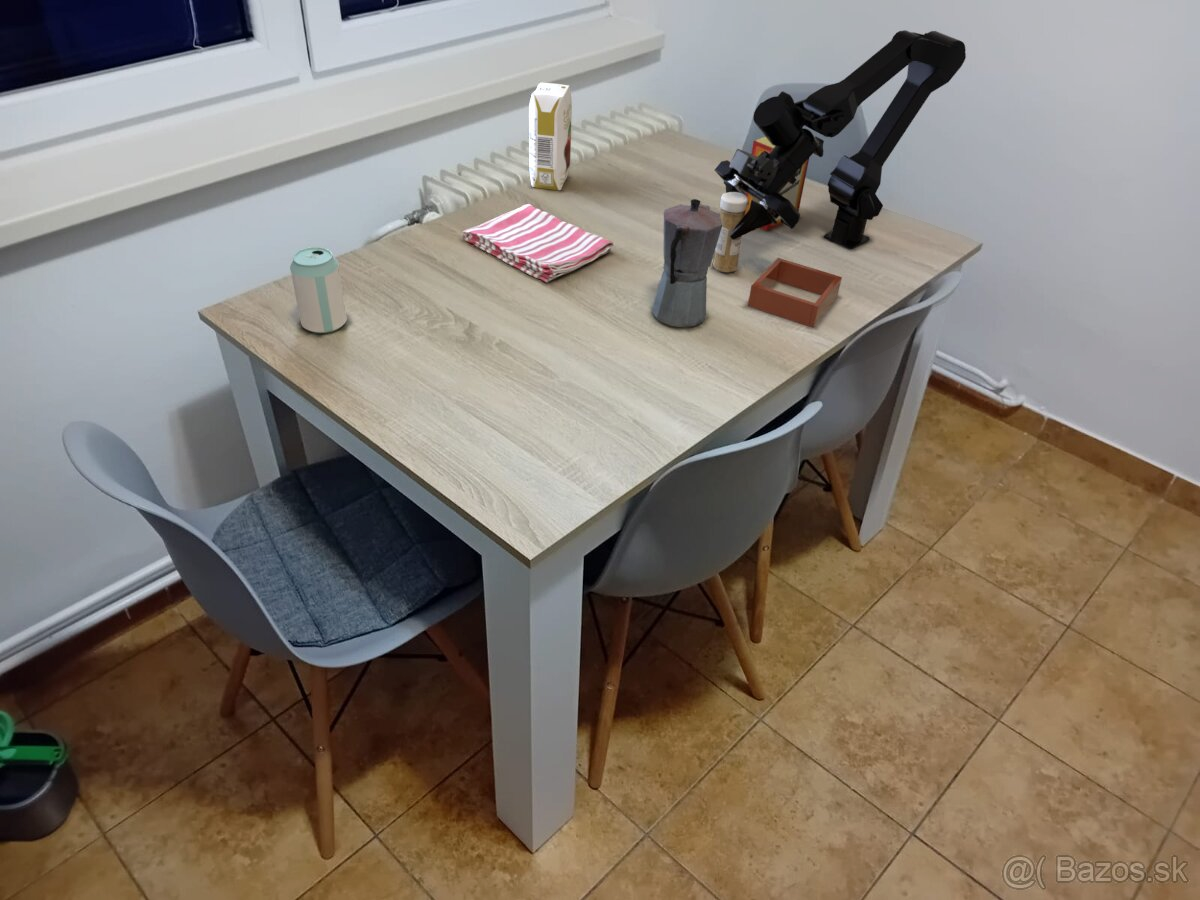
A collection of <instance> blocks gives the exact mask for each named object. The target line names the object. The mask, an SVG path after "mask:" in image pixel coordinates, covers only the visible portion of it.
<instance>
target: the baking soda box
mask: <svg viewBox="0 0 1200 900" xmlns="http://www.w3.org/2000/svg"><path fill="white" fill-rule="evenodd" d="M774 147H775V146H774V145H772V144H771V143H770V142H769V140H768V139H767V138H766V136H765V135H764V136H763V137H761V138H758V139H755V140H753V142H752V149H751V154H752V155H755V156H757V157H758V156H759V155H760V154H761V153H762V152H764V151H766V152H768V153H770V152H771V151H772V149H773V148H774ZM809 161H810V158H809V159H808V160H807V161H806V162H805V163H804V164H803V166H802V167H801V168H800V169H799V170H798V171H797V173H796V174H795V175H794V177H795V178H796V181H795V183H794V184H791V183H789V182H788V183H787V184H786V185H785V187H784V188H783V189H782V190H781V191H780V192H779V194H780V195H782V196H783V197H785V198H786V199H788V200H789V201H790V202H791V203H792V205H793V206H794V207H795V208H796V210H797V211H798V212H799V213H800V206H801V203H802V197H803V192H804V187H805V182H806V177H807V173H808V166H809ZM746 197H747V198H748V203H749V204H748V205H747V209H746V211H745V215H746V213H747V212H748V211H749V209H750V204H751V200H752V198H753V199H754V200H756V201H757V202H760V201H758V200H757V199H755V198H754V197H752V196H751V195H749V194H748V193H746ZM745 215H744V216H745ZM776 221H777V224H773V223H772V224H769V225H766V226H764V227H761V228H760V229H762V230H763V231H765V232H768V231H771V230H772V229H775V228H777V227H779V226H781V225H784V224H783V223H782V222H781V217H780V216H779V217H778V218H777V219H776Z"/></svg>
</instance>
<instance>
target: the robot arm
mask: <svg viewBox="0 0 1200 900" xmlns="http://www.w3.org/2000/svg"><path fill="white" fill-rule="evenodd" d="M966 59H967V53H966V44H965V42H964V41H962V40H960V39H957V38H954V37H952V36H949V35H947V34H944V33H942V32H939V31H937V30H931V31H929V32H925V33H923V34H922V33H918V32H914V31H908V30H907V29H906V30H905V29H904V30H899V31H897V32H896V33H895V34H894V35H893V36H892V38H891V40H890V41H889V42H888V43H886V44H885V45H884V46H883V47H881V48H880V49H879V50H878V51H877V52H875V53H874V54H873V55H872V56H870V57H869V58H868V59H867V60H866V61H865V62H863V63H862V64H861V65H860V66H858V67H857V68H856V69H855V70H854V71H852V72H851V73H850V74H849V75H847V76H846V77H845V78H844V79H842V80H840V81H838V82H835V83H831V84H828V85H824V86H822V87H821V88H819V89H818V90H816V91H814V92H813V93H811V94H810V95H808V96H807V97H806V98H805V99H802V100H799V101H796V102H795V101H794V98H793V97H792V95H791V94H789V93H788V92H785V91H781V92H780V93H779V94H778V95H777V96H772V97H768V98H767V99H765V100H764V101H762V102H760V103H759V104H758V105H757V107H756V108H755V110H754V111H753V116H752V117H753V118H752V119H753V123H754V124H755V126H756V127H757V128H758V129H759V130H760V131H761V133H762V134H763V136H764V137H765V136H766V138H767V139H768V140H769V142H770V143H771V144H772V145H774V146H775V147H774V148H773V149H772V151H771V152H770V153H768V152H766V151H764V152H762V153H761V154H760V155H759V156H758V157H757V156H755V155H752V153H751V152H747V151H745V150H742V149H740V148H736V151H735V152H734V154H733V157H732V159H731V160H732V161H731V160H727V159H725V160H721V161H720V162H719V163H718V165H717V166H716V167H715V168H714V172H715V173H716V174H717V175H718V176H719V177H720V178H721V180H722V181H723V184H724V185H725V193H728V192H738V193H741V194H744V195H745V196H746V193H748V194H749V195H751V196H752V197H754V198H755V199H757V200H758V201H760V202H757V201H756V200H754V199H753V198H752V200H751V204H750V209H749V211H748V212H747V213H746V215H745V216H744V217H743V218H742V220H741V221H740V222H739V223H738V224H737V226H736V227H735V228H734V230H733V231H732V233H731V234H730V238H731V239H733V240H734V239H736V238H738V237H741V236H745V235H747V234H749V233H751V232H754V231H755V230H758V229H761V227H764V226H766V225H769V224H772V223H773V224H777V221H776V219H777V218H778V217H779V216H780V217H781V222H782V223H783V224H782V225H784V226H785V227H787V228H788V229H790V230H793V229H794V228H795V227H796V226H797V224H798V223H799V221H800V217H801V212H800V211H799V212H798V211H797V210H796V208H795V207H794V206H793V205H792V203H791V202H790V201H789V200H788V199H786V198H785V197H783V196H782V195H780V194H779V192H780V191H781V190H782V189H783V188H784V187H785V185H786V184H787V183H788V182H789V183H791V184H794V183H795V181H796V178H795V177H794V175H795V174H796V173H797V171H798V170H799V169H800V168H801V167H802V166H803V164H804V163H805V162H806V161H807V160H808V159H809V160H810V158H811V156H812V155H815V156H817V157H819V158H822V157H823V156H824V142H825V140H823V139H822V138H820V137H818V136H816V135H814V134H813V132H812V131H814V132H815V133H817V134H819V135H821V136H823V137H825V138H834V137H836V136H838V135H839V134H840V133H841V132H842V131H844V129H846V127H847V126H848V125H849V124H850V123H851V122H852V121H853V120H854V119H855V115H856V114H857V111H858V108H859V107H860V106H861V104H862V103H863V102H865V101H866V100H867V99H868V98H869V97H871V96H872V95H873V94H874V93H875V92H877V91H879V89H881V88H882V87H883V86H884V85H885V84H887V83H888V82H889V81H890V80H892V79H894V77H895V76H896V75H898V74H899V73H900V72H901V71H902V70H903V69H905V68H907V71H906V72H907V74H906V78H905V80H904V81H903V83H902V84H901V86H900V88H899V90H898V91H897V92H896V94H895V96H894V97H893V99H892V101H890V104H889V105H888V106H887V108H886V110H885V111H884V112H883V114H882V115H881V117H880V118H879V120H878V122H877V123H876V125H875V127H874V128H873V130H872V131H871V132H870V134H869V136H868V138H867V139H866V140H865V142H864V143H863V144H862V146H861V148H860V150H859V151H858V152H856V153H854V154H853V155H851V156H850V157H849V156H847V155H843V156H842V157H840V159H839V161H838V163H837V165H836V166H835V168H834V169H833V170H832V171H831V172H830V173H829V175H830V177H829V179H828V181H827V186H828V188H827V189H828V191H827V192H828V194H829V202H830V203H832V204H834V205H835V206H837V207H838V208H837V210H836V214H835V218H834V222H833V226H832V230H830V231H829V232H826V233H825V234H823V237H824V238H825V239H827V240H829V241H831V242H833V243H836V244H837V245H840V246H841V247H844V248H846V249H848V250H853V249H855V248H857V247H859V246H861V245H864V244H865V243H867V242H869V241H870V240H871V237H870V236H869V235H866V234H865V231H866V227H867V223H868V221H872V220H873V219H874V218H876V217H878V216H879V215H880V213H881V211H882V209H883V207H884V205H883V203H882V201H881V200H880V198H879V197H878V195H877V194H876V193H877V191H878V189H880V188H879V187H880V186H881V183H882V172H883V166H884V165H885V163H886V161H888V158H889V157H890V155H891V154H892V153H893V151H894V149H895V148H896V146H897V145H898V143H899V142H900V140H901V139H902V138H903V136H904V135H905V133H906V131H907V130H908V128H909V126H910V125H911V124H912V122H914V121H913V120H914V119H915V118H916V116H917V115H918V113H919V112H920V110H921V109H922V107H923V106H924V104H925V103H926V101H927V100H928V98H929V97H930V95H931V94H932V93H933V92H935V91H937V90H938V89H940V88H942V87H943V86H945V85H946V84H948V83H949V82H950V81H951V80H952V79H953V78H954V77H955V75H956V74H957V73H958V71H959V70H961V68H962V66H963V65H964V63H965V61H966ZM804 126H805V127H807V128H804ZM811 130H812V131H811ZM730 161H731V162H730ZM748 204H749V203H747V205H748ZM720 211H721V209H720V210H719V212H718V214H720Z"/></svg>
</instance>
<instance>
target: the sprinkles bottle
mask: <svg viewBox="0 0 1200 900" xmlns="http://www.w3.org/2000/svg"><path fill="white" fill-rule="evenodd" d="M719 203H720V204H719V206H720V208H719V209H720V210H721V211H720V210H719V212H720V216H721V222H722V229H721V232H720V235H719V239H718V242H717V245H716V248H715V252H714V257H713V258H714V259H713V261H712V266H713V268H714V269H715V270H716V271H718V272H722V273H733V272H735V271H736V270H737V269H738V268H739V256H740V251H741V244H742V236H741V237H738V238H736V239H734V240H733V239H731V238H730V234H731V233H732V231H733V230H734V228H735V227H736V226H737V224H738V223H739V222H740V221H741V220H742V218H743V217H744V215H745V211H746V209H747V203H748V198H747V197H746V196H745V195H744V194H741V193H738V192H728V193H726V192H724V193H723V194H722V195H721V198H720V202H719Z"/></svg>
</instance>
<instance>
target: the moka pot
mask: <svg viewBox="0 0 1200 900" xmlns="http://www.w3.org/2000/svg"><path fill="white" fill-rule="evenodd" d="M721 229H722V222H721V216H720V214H719V212H716V211H714V210H712V209H711V208H710V205H707V204H702V203H701V200H700V199H697V198H693V199H691V200H690V204H677V205H674V206H671V207H668V208H666V209H664V211H663V266H662V268H663V269H662V270H663V271H662V274H661V276H660V280H659V282H658V287H657V291H656V293H655V297H654V300H653V303H652V308H651V313H652V315H653V316H654V317H655V318H656V319H657V321H659V322H661V323H663V324H665V325H667V326H670V327H675V328H676V327H677V328H687V327H688V328H689V327H690V328H691V327H695V326H698V325H700V324H702V323H703V322H704V320H705V318H706V315H707V286H708V285H707V284H708V282H707V281H708V277H707V276H708V270H709V268H710V267H711V265H712V263H713V260H714V259H713V258H714V256H715V251H716V250H715V248H716V245H717V242H718V239H719V235H720V232H721Z"/></svg>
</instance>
